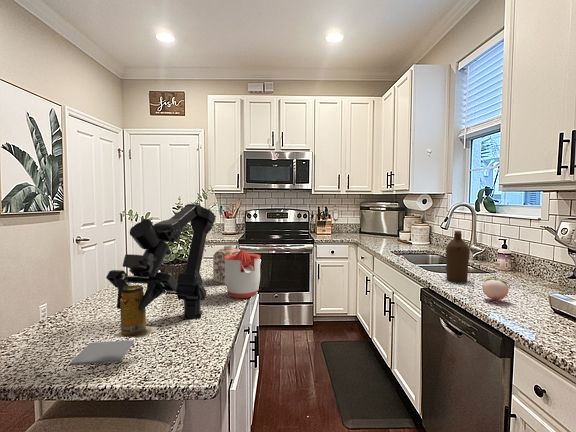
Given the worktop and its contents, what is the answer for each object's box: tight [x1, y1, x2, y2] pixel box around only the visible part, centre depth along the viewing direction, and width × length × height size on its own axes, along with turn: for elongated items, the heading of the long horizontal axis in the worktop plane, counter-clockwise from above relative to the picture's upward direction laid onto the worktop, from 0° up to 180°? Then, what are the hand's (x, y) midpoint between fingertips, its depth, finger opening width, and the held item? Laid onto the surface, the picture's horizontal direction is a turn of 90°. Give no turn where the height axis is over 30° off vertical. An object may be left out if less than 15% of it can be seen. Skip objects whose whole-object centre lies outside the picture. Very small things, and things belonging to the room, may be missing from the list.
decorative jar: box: [212, 244, 241, 285], centre depth 170 cm, size 12×12×18 cm
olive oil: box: [445, 230, 470, 283], centre depth 170 cm, size 11×11×25 cm
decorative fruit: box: [481, 276, 510, 302], centre depth 136 cm, size 9×8×10 cm
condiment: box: [113, 284, 159, 339], centre depth 89 cm, size 7×8×12 cm
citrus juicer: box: [224, 248, 261, 299], centre depth 145 cm, size 16×17×20 cm
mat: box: [69, 339, 135, 366], centre depth 92 cm, size 12×12×1 cm
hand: (128, 309), depth 87 cm, fingers closed on condiment, 6 cm apart
